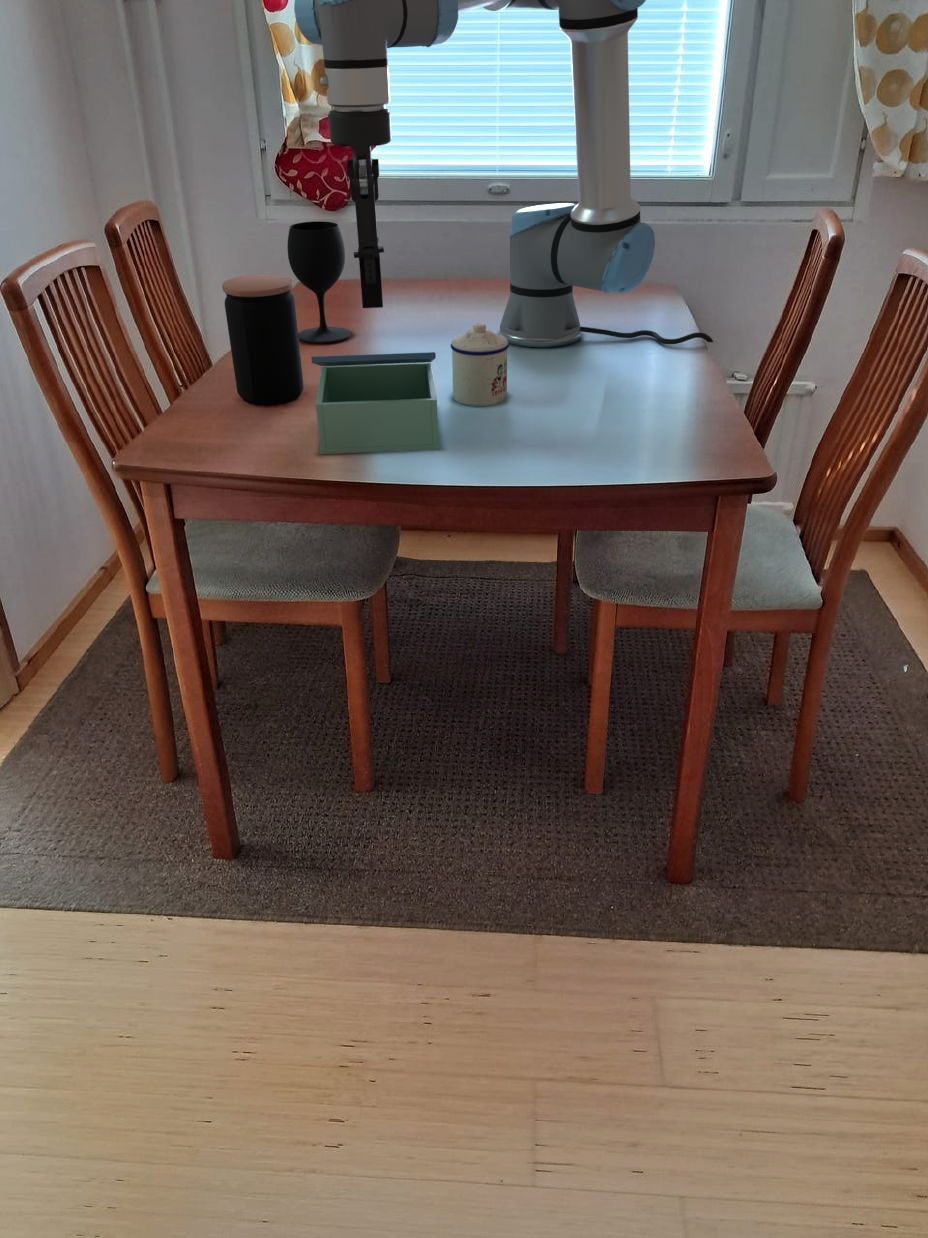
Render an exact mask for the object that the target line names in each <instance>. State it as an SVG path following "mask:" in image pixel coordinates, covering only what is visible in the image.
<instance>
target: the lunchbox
mask: <svg viewBox="0 0 928 1238" xmlns="http://www.w3.org/2000/svg"><path fill="white" fill-rule="evenodd" d="M433 372H434V371H433V365H432V362H426V363H399V364H372V365H345V366H321V370H320V376H319V383H318V389H317V395H316V397H317V398H316V401H315V402H316V403H315V409H316V418H317V427H318V429H317V430H318V437H319V438H318V439H319V449H320V455H335V454H336V455H337V454H360V453H361V454H363V453H385V452H386V453H387V452H408V451H410V452H411V451H431V450H432V451H433V450H434V451H435V450H439V424H438V422H439V421H438V420H439V419H438V398H437V392H436V385H435V379H434V373H433Z"/></svg>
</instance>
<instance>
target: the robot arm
mask: <svg viewBox="0 0 928 1238" xmlns="http://www.w3.org/2000/svg"><path fill="white" fill-rule="evenodd" d="M646 2H647V0H294V4H293V5H294V8H293V9H294V17H295V22H296V25H297V28H298V30H299V31H300V33H301V35H302V36H303V38H305V39H306V40H307V41H308V42H309V43H311V44H313V45H319V46H322V55H323V66H324V73H325V75H326V76H321V77H320V80H319V83H320V85H321V86H322V87H327V89H326V100H327V105H328V106H330V107H332V108H333V109H332V110H330V111H329V113H328V114H327V116H328V118H327V119H328V128H329V139H330V143H331V144H332V145H334V146H336V147H343V148H348V147H350V148H351V149H352V151H351V152H352V153H351V154H352V159H347V160H346V173H347V178H348V179H349V186H350V198H351V201H353V202H354V206H355V219H356V229H357V241H358V242H357V243H358V244H357V245H358V247H357V251H353V258H354V259H358V263H359V264H358V265H359V278H360V291H361V302H362V309H380V308H384V301H383V299H384V298H383V284H382V283H383V282H382V271H381V270H382V269H381V257H380V256H381V253H385V246H380V245H379V242H380V241H379V240H380V239H379V237H378V227H377V226H378V225H377V224H378V223H377V210H376V202H377V201H378V200H379V197H380V196H379V180H378V179H379V177H380V165H379V163H380V162H379V158H373V157H372V147H373V146H374V147H375V146H376V147H377V146H379V147H380V146H384V145H387V144H389V143H390V142H392V119H391V118H392V117H391V111H389V109H388V108H386V105H388V104H389V103H390V102H391V91H390V73H389V64H388V49H390V48H414V47H416V48H417V47H421V48H422V47H426V48H430V47H432V46H434V45H441V44H444V43H445V42H447V41H448V40H449V39H450V38H451V37H452V36H453V35H454V33H455V30H456V28H457V26H458V22H459V14H461V13H465V12H469V11H473V10H475V9H479V8H480V9H481V8H483V9H484V10H487V11H490V12H498V11H502V10H505V9H528V10H529V9H530V10H531V9H532V10H543V11H544V10H545V11H547V10H549V11H558V24H559V25H558V27H559V30H560V31H561V32H562V33H563V34H564V35H565V36H566V37H567V38H568V40H569V41H570V57H571V58H570V59H571V77H572V94H573V95H572V97H573V116H574V133H575V134H574V135H575V152H576V153H575V154H576V155H575V156H576V170H577V171H576V172H577V191H578V203H577V204H575V203H573V202H572V203H571V202H560V203H559V202H557V203H548V204H539V205H532V206H528V207H523V208H520V209H518V210H516V211H514V213H513V214H512V216H511V218H510V219H511V220H510V221H511V222H510V223H511V224H510V232H509V235H508V236H509V296H508V299H507V303H506V305H505V308H504V312H503V315H502V318H501V321H500V324H499V335H501V336H503V337H505V338H506V339H507V341H508V344H511V345H515V346H519V347H520V346H521V347H527V348H555V347H561V346H567V345H570V344H573V343H575V342H577V341H578V340H579V339H580V338H581V333H582V332H583V333H589V334H597V335H604V336H610V337H614V338H620V339H633V338H637V337H641V336H646V337H647V336H649V337H652V338H653V339H655V340H656V341H657V342H659V343H661V344H663V345H677V344H683V343H684V342H687V341H690V340H693V339H703V340H704V341H706V342H707V343H714V340H713V339H712V337H711V336H710V335H708V334H707V333H705V332H699V331H698V332H692V333H689V334H687V335H683V336H681V337H676V338H664V337H663V336H662V335H660V334H659V333H657V332H656V331H654V330H647V329H643V330H636V331H631V332H619V331H614V330H608V329H602V328H595V327H590V326H589V327H587V326H582V325H581V322H580V318H579V313H578V311H577V307H576V302H575V298H574V293H573V292H574V291H573V290H574V287H576V288H583V289H588V290H592V291H593V290H594V291H597V292H603V293H605V294H613V293H614V294H619V295H622V294H624V295H625V294H628V293H630V292H633V291H634V290H636V288H638V286H639V285H640V284H641V283H642V282H643V280H644V279H645V277H646V275H647V273H648V271H649V269H650V267H651V265H652V261H653V257H654V255H655V248H656V235H655V232H654V230H653V228H652V226H651V225H650V224H648V223H646V221H645V222H643V221H642V222H641V205H640V203H638V201H637V200H635V199H634V198H633V197H632V191H631V190H632V188H631V187H632V186H631V185H632V184H631V137H630V136H631V133H630V132H631V131H630V129H631V128H630V85H629V84H630V81H629V80H630V79H629V77H630V76H629V31H630V29H632V27H633V26H634V25H635V23H636V21H638V19H639V8H640V7H641V6H643V5H644V3H646Z"/></svg>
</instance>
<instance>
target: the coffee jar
mask: <svg viewBox="0 0 928 1238" xmlns="http://www.w3.org/2000/svg"><path fill="white" fill-rule="evenodd" d="M221 288H222V291H223V292H224V294H225V296H226V297H225V299H224V311H225V316H226V324H227V333H228V338H229V345H230V352H231V358H232V365H233V373H234V379H235V386H236V393H237V395H238V396H239V397H240V398H241V399H242V401H243V402H244V403H246V404H248V405H250V406H257V407H277V406H282V405H283V406H284V405H286V404H291V403H293V402H295V401H297V400H298V399H299V398H300V397H301V395H302V393H303V392H304V387H305V386H304V376H303V368H302V367H303V366H302V358H301V357H302V356H301V348H300V341H299V337H298V334H299V329H298V320H297V311H296V300H295V295H294V294H293V293H292V292H291V290H292V289H293V279H292V278H291V277H289V276H286V275H281V274H270V273H259V274H246V275H241V276H236V277H232V278H228V279H227V280H225V281H223V282H222V285H221Z"/></svg>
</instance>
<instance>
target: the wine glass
mask: <svg viewBox="0 0 928 1238" xmlns="http://www.w3.org/2000/svg"><path fill="white" fill-rule="evenodd" d="M287 258H288V263H289V265H290V269H291V271H292V273H293V275H294V276H295V277H296V279H297V280H298V281H299V282H300V283H301V284H302V285H303V286H304V287H306V288H307V289H308V290H309V291H311V292H313V293H314V294H315V296H316V299H317V304H318V312H319V326H318V327H313V328H308V329H304V330H301V331H300V332H298V337H299V342H301V343H305V344H307V345H308V344H310V345H331V344H337V343H342V342H345V341H347V340H348V339H350V338H351V337H352V332H351V331H350V330H348V329H347V328H343V327H338V326H328V324H327V320H326V313H325V295H326V293H327V292H328V291H329V290H330V289H331V288H332V287H333V286H334V285H335V284H336V283H337V282H338V280H339V279H340V277H341V276H342V273H343V271H344V268H345V263H346V249H345V243H344V239H343V236H342V232H341V229H340V227H339V224H338V223H336V222H333V221H331V222H330V221H325V220H324V221H319V220H317V221H303V222H297V223H294V224H291V225H290V226H289V228H288V235H287Z"/></svg>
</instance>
